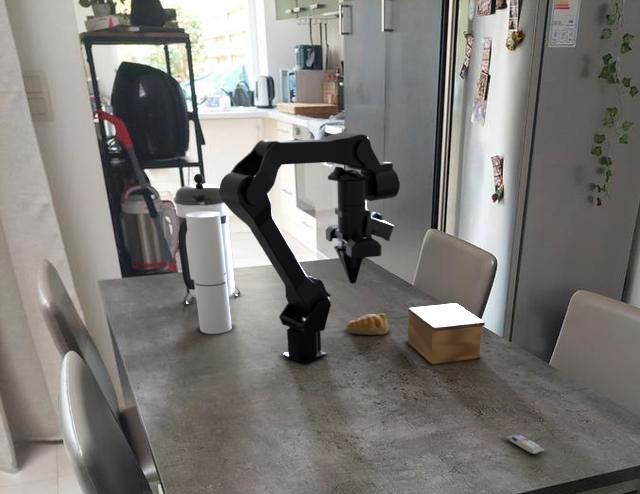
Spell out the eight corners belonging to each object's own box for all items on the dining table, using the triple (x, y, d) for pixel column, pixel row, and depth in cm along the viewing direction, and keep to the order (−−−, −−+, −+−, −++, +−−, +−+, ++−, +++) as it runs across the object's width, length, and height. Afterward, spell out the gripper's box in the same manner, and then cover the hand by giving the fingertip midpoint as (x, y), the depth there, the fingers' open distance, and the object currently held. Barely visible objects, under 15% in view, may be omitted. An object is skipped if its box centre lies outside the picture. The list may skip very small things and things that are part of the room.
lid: (455, 306, 152) (455, 303, 151) (484, 325, 141) (485, 322, 140) (408, 311, 149) (408, 308, 148) (433, 331, 138) (434, 327, 137)
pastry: (349, 337, 155) (349, 320, 153) (343, 328, 161) (343, 311, 159) (390, 334, 157) (390, 317, 155) (382, 325, 162) (383, 309, 160)
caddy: (451, 337, 155) (453, 307, 152) (479, 358, 144) (481, 326, 141) (407, 342, 152) (408, 311, 149) (432, 364, 141) (433, 331, 138)
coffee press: (173, 296, 182) (155, 172, 167) (232, 288, 188) (220, 168, 173) (188, 314, 169) (170, 181, 153) (251, 306, 175) (240, 177, 159)
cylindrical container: (235, 324, 163) (223, 211, 150) (226, 334, 157) (214, 217, 144) (205, 323, 163) (191, 210, 150) (196, 333, 157) (181, 217, 144)
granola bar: (544, 453, 109) (545, 447, 108) (533, 457, 108) (534, 451, 107) (515, 436, 114) (516, 430, 113) (505, 439, 113) (505, 434, 112)
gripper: (407, 209, 132) (405, 291, 140) (374, 194, 147) (373, 268, 155) (351, 213, 129) (352, 296, 137) (324, 197, 144) (326, 273, 152)
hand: (352, 282), depth 146 cm, fingers closed
